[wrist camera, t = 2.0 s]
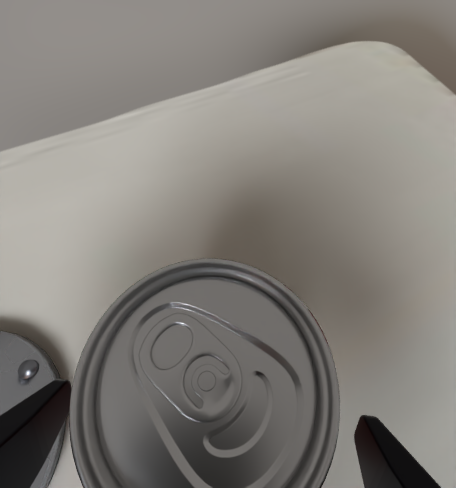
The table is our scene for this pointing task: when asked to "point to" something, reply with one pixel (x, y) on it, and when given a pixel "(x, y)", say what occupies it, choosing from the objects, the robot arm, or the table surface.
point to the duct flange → (27, 386)
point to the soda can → (205, 385)
